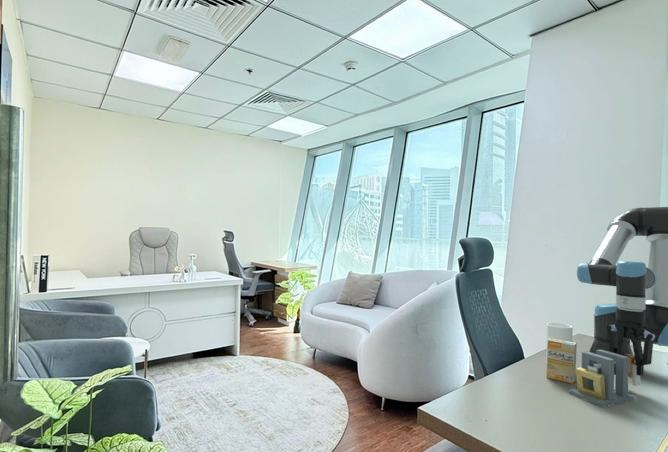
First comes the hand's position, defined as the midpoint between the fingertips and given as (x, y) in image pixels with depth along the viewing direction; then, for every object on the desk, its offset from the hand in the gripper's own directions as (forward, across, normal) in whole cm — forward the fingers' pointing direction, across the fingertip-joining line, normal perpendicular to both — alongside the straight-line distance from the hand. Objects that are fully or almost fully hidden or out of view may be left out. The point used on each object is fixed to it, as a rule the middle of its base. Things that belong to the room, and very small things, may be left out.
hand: (629, 382), depth 121 cm
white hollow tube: (+3, -22, -3) cm, 22 cm away
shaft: (-2, 0, -8) cm, 9 cm away
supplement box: (+3, -14, -13) cm, 19 cm away
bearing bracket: (+3, 0, -14) cm, 14 cm away
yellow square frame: (-2, 0, -19) cm, 20 cm away
